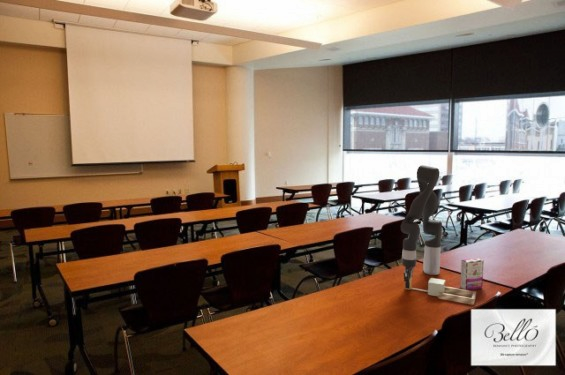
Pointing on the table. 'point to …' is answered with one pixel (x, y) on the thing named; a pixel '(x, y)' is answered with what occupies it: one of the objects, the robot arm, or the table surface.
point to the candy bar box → (471, 273)
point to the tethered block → (432, 286)
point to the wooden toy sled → (458, 298)
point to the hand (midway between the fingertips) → (408, 286)
